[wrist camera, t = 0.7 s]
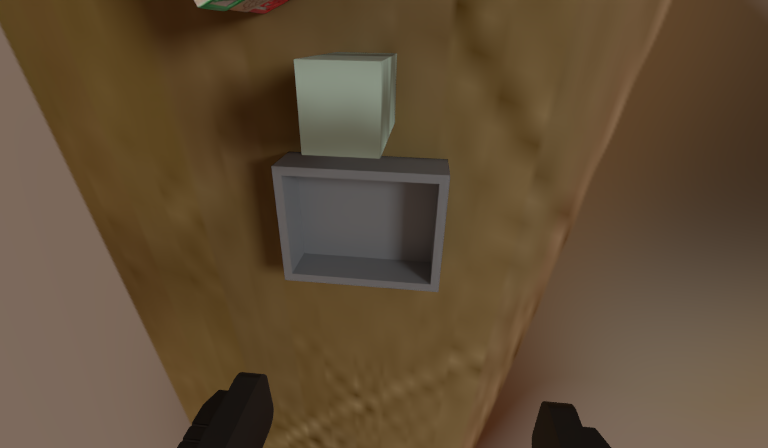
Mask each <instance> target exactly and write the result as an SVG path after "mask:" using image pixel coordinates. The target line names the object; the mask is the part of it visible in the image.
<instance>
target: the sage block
mask: <svg viewBox="0 0 768 448" xmlns="http://www.w3.org/2000/svg"><path fill="white" fill-rule="evenodd" d="M396 64H397V54H389V53H347V52H335V53H329V54H323V55H317V56H311V57H304V58H298V59H294V68H295V80H296V92H297V104H298V116H299V129H300V141H301V153H302V155H315V156H335V157H356V158H376V159H380V157H381V155H382V153H383V150H384V148H385V145H386V143H387V140H388V138H389V135H390V133H391V130H392V128H393V126H394V123H395V97H396Z"/></svg>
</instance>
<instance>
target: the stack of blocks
mask: <svg viewBox="0 0 768 448" xmlns="http://www.w3.org/2000/svg"><path fill="white" fill-rule="evenodd" d="M287 1H289V0H194V2H195V3H196V5H197V7H199V8H203V9H210V10H219V11H227V10H233V11H241V12H254V13H262V14H265V13H267V12H269V11H271V10H272V9H274V8H276V7H278V6H280V5H281V4H283V3H285V2H287Z"/></svg>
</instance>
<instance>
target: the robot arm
mask: <svg viewBox="0 0 768 448" xmlns="http://www.w3.org/2000/svg"><path fill="white" fill-rule="evenodd" d="M273 412H274V408H273V402H272V397H271V393H270V388H269V384H268V379H267V376H266V375H265V374H255V373H245V372H240V373H239V374H238V375H237V376H236V377H235V379H234V381H233V383H232V385H231V386H230V388H229V390H228V391H225V390H218V391H217V392H216V393H215V394H214V395H213V396H212V397H211V398H210V399H209V400H208V401H206V402H205V403H204V404H203V406H202V407H201V409H200V411H199V412H198V414H197V416H196V417H195V419H194V420H193V422H192V426H191V427H189V429H188V430H187V432H186V434H185V435H184V437H183V441H182V442H180V444H179V445H178V447H177V448H263V445H264V443H265V440H266V438H267V435H268V433H269V430H270V427H271V424H272V420H273ZM532 448H611V447H610V446H609V444H608V443H607V442H606V441H605V440H604V438H603V437H602V436H601V435H600V433H599V432H598V431H597V430H596V429H595V428H590V427H582V424H581V421H580V419H579V416H578V413H577V411H576V409H575V407H574V406H573V405H572V404H568V403H557V402H546V401H544V402H542V403H541V407H540V410H539V413H538V417H537V420H536V423H535V427H534V430H533V434H532Z"/></svg>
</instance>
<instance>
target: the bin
mask: <svg viewBox="0 0 768 448" xmlns="http://www.w3.org/2000/svg"><path fill="white" fill-rule="evenodd" d="M271 168H272V176H273V184H274V192H275V201H276V209H277V217H278V225H279V233H280V242H281V250H282V258H283V266H284V274H285V280H295V281H307V282H320V283H332V284H345V285H357V286H370V287H382V288H395V289H407V290H420V291H432V292H438V289H439V279H440V270H441V260H442V250H443V240H444V230H445V221H446V211H447V201H448V191H449V182H450V171H449V165H448V159H428V158H408V157H387V156H381V157H380V159H376V158H356V157H335V156H315V155H302V153H301V152H288V153H287V154H286V155H284V156H283V157H282V158H281V159H279V160H278V161H277V162H276V163H275V164H273V165H272V166H271Z"/></svg>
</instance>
